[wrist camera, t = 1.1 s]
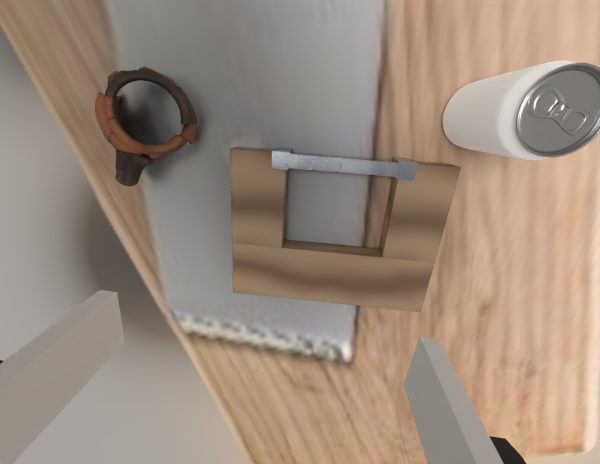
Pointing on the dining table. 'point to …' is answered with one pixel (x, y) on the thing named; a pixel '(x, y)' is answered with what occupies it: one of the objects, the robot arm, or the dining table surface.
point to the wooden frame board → (337, 258)
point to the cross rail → (344, 164)
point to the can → (527, 111)
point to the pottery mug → (128, 148)
